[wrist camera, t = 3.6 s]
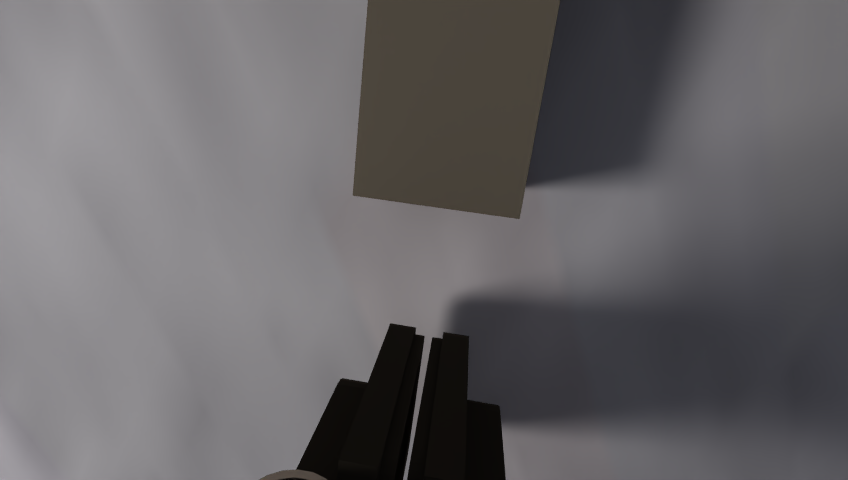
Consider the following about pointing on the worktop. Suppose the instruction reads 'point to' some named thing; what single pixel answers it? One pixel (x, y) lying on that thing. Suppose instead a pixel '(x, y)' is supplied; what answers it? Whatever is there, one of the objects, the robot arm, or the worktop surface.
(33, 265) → the worktop surface
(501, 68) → the plug
